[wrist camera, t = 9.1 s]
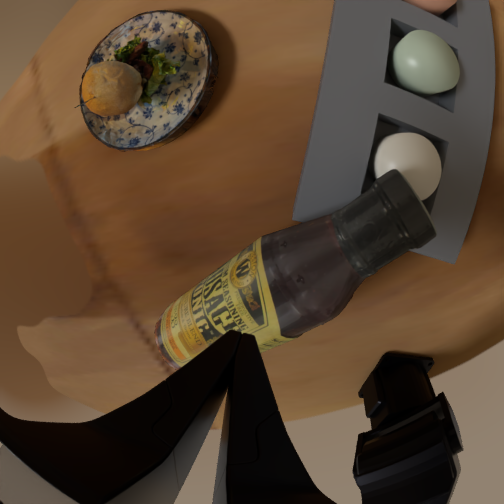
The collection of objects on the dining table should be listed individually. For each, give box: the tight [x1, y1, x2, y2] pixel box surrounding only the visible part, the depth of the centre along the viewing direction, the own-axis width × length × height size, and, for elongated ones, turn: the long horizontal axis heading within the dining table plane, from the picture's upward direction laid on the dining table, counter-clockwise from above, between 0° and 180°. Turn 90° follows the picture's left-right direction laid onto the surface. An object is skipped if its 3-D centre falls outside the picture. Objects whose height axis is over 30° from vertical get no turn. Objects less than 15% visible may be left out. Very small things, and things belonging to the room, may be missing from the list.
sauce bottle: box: [154, 169, 437, 370], centre depth 17 cm, size 7×6×20 cm
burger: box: [75, 10, 219, 152], centre depth 14 cm, size 12×12×8 cm
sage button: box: [387, 30, 460, 97], centre depth 11 cm, size 4×4×3 cm
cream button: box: [368, 133, 441, 201], centre depth 14 cm, size 4×4×3 cm
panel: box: [292, 0, 495, 264], centre depth 12 cm, size 12×24×3 cm, turn 170°
